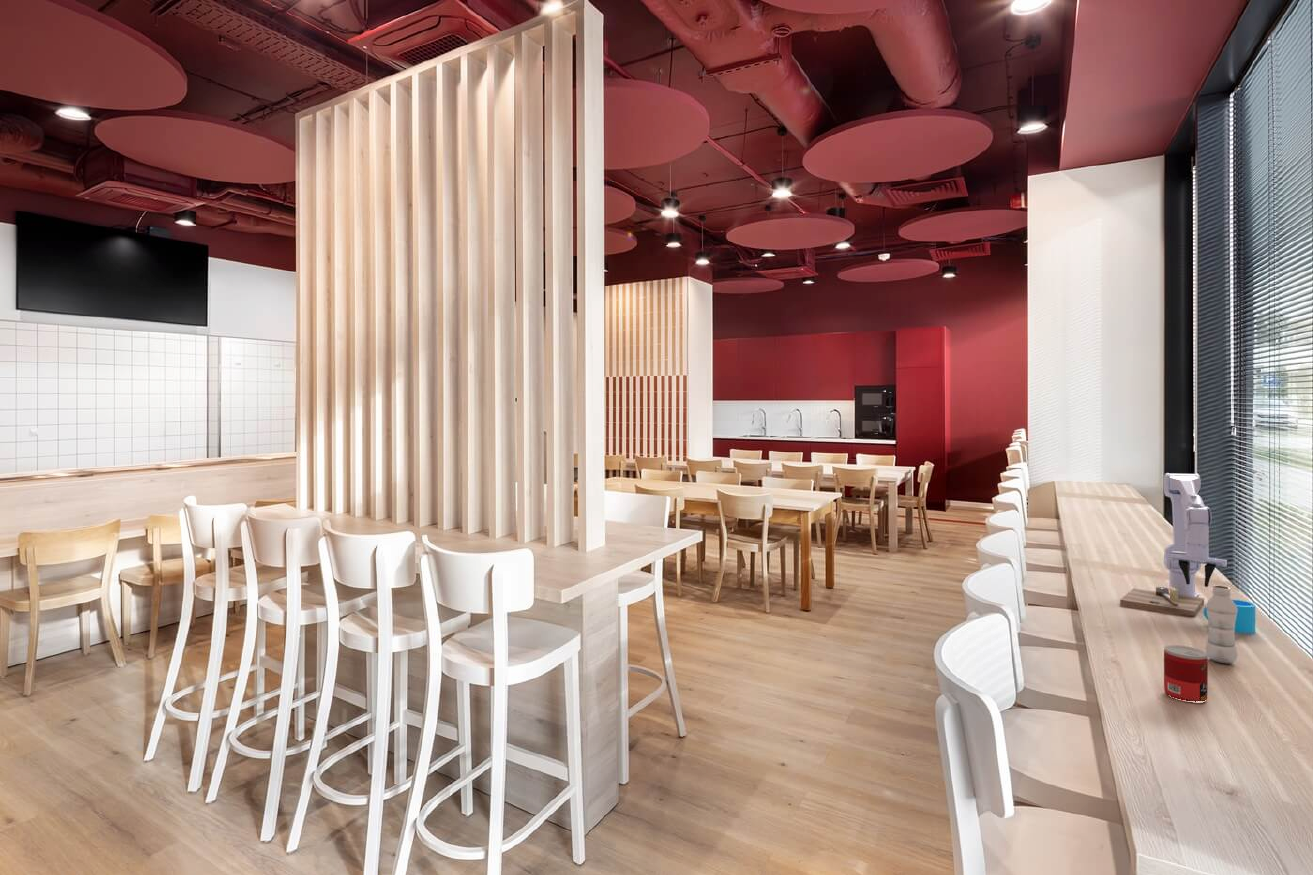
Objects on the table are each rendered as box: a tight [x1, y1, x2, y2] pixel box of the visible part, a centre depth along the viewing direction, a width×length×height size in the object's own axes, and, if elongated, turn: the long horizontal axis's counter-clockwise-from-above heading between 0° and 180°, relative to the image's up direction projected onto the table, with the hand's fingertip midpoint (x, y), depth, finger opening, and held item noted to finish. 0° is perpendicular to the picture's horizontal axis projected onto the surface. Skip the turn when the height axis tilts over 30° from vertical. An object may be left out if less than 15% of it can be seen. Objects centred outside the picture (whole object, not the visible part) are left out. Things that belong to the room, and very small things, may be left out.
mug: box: [1203, 598, 1256, 635], centre depth 201 cm, size 12×8×8 cm
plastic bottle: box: [1205, 585, 1239, 664], centre depth 174 cm, size 6×7×20 cm
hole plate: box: [1119, 588, 1205, 618], centre depth 226 cm, size 20×20×2 cm
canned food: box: [1163, 644, 1209, 702], centre depth 154 cm, size 8×8×11 cm
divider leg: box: [1155, 586, 1179, 605], centre depth 225 cm, size 16×4×5 cm, turn 158°
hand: (1197, 585), depth 215 cm, fingers open, 4 cm apart
